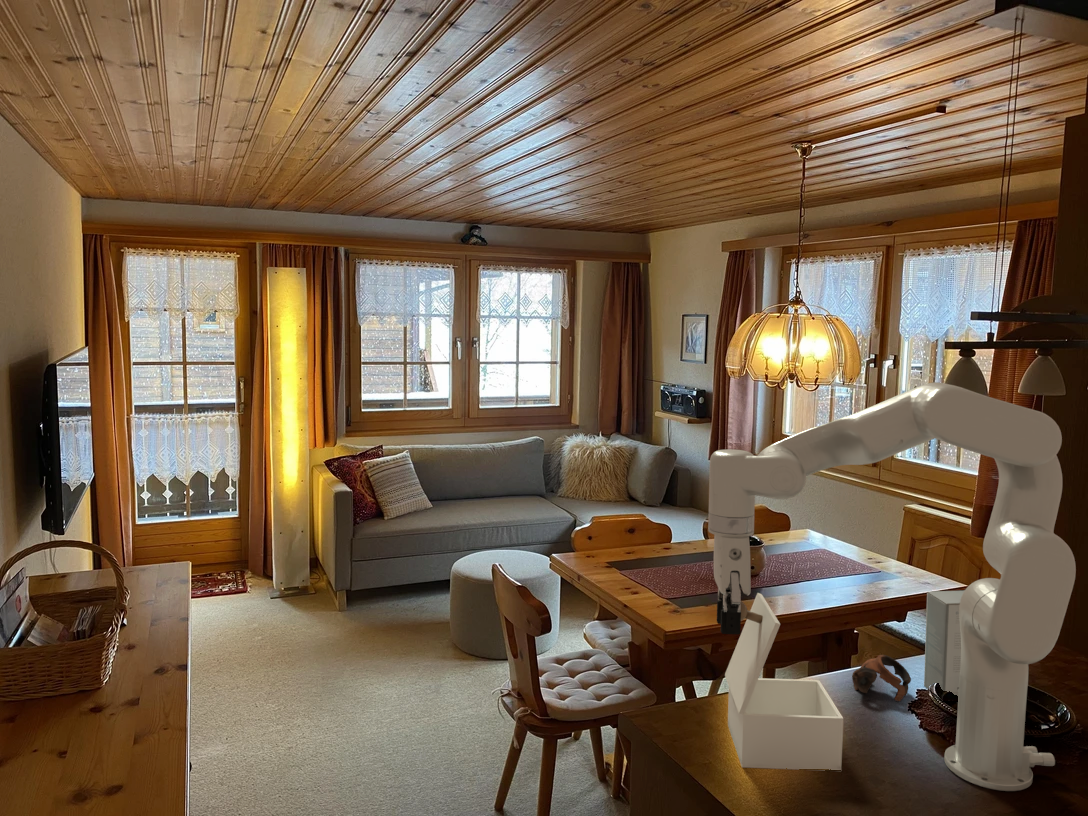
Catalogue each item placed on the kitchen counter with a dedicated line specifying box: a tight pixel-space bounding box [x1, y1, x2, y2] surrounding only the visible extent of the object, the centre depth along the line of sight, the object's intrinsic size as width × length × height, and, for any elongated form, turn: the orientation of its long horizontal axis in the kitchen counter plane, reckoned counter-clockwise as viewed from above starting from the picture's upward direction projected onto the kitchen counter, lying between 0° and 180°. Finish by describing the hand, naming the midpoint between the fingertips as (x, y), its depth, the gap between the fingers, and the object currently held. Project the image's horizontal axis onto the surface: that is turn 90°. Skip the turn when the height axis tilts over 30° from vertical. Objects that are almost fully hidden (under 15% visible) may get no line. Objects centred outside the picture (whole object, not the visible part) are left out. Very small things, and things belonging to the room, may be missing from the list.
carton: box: [727, 677, 844, 771], centre depth 135 cm, size 16×14×9 cm
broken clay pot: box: [851, 654, 912, 702], centre depth 155 cm, size 12×10×8 cm
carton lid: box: [724, 592, 781, 715], centre depth 135 cm, size 16×14×7 cm
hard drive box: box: [923, 589, 966, 696], centre depth 155 cm, size 16×8×20 cm, turn 92°
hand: (728, 627), depth 134 cm, fingers closed on carton lid, 3 cm apart
